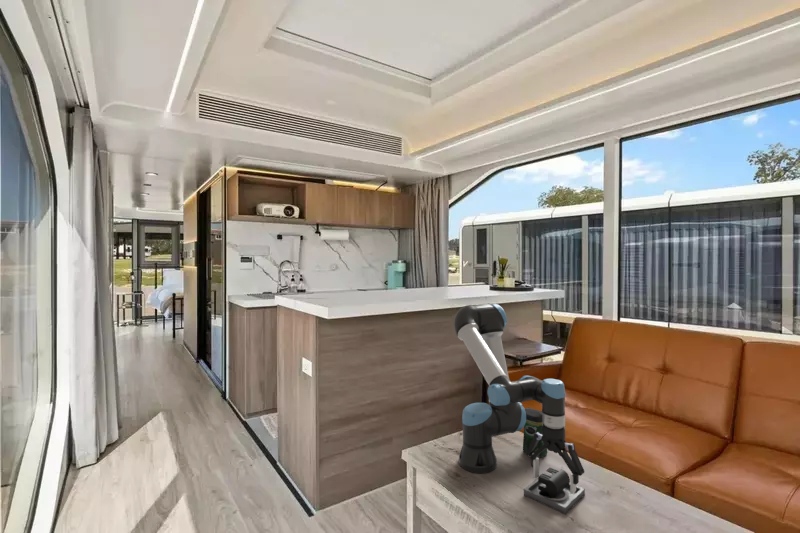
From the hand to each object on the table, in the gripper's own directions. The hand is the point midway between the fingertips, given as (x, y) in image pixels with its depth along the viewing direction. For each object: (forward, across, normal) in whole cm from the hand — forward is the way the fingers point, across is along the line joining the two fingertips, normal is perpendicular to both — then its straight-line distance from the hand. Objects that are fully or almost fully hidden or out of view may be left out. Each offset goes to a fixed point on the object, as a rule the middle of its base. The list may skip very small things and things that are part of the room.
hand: (554, 484), depth 146 cm
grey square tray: (+4, 0, 0) cm, 4 cm away
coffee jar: (+4, -20, +23) cm, 31 cm away
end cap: (+3, 0, 0) cm, 3 cm away
